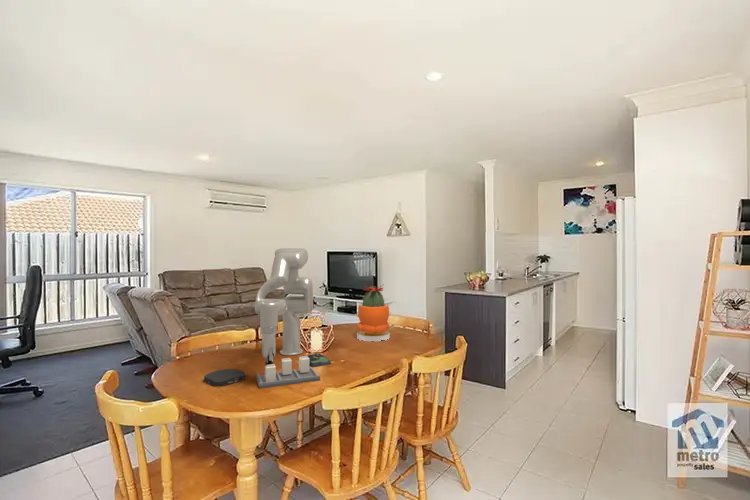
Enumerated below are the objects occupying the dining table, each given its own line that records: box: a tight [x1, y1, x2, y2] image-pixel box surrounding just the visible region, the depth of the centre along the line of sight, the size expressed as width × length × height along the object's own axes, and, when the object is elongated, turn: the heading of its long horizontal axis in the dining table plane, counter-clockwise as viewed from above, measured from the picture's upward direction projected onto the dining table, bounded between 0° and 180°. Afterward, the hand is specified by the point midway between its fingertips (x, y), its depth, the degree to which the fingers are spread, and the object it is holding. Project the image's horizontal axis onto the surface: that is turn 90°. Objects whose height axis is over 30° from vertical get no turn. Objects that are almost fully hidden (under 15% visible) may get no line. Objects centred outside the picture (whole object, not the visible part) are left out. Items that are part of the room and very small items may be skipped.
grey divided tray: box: [255, 366, 321, 389], centre depth 168 cm, size 14×26×2 cm, turn 113°
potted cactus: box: [356, 284, 392, 342], centre depth 242 cm, size 22×22×35 cm
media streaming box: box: [203, 368, 246, 387], centre depth 167 cm, size 15×15×3 cm
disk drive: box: [300, 352, 332, 369], centre depth 193 cm, size 10×3×15 cm
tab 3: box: [298, 355, 310, 373], centre depth 174 cm, size 4×4×7 cm
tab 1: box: [264, 363, 277, 382], centre depth 162 cm, size 4×4×7 cm
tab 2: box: [280, 357, 293, 375], centre depth 171 cm, size 4×4×7 cm
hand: (269, 370), depth 167 cm, fingers closed
